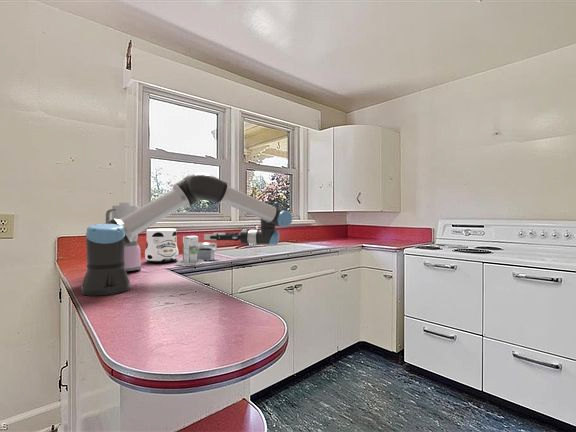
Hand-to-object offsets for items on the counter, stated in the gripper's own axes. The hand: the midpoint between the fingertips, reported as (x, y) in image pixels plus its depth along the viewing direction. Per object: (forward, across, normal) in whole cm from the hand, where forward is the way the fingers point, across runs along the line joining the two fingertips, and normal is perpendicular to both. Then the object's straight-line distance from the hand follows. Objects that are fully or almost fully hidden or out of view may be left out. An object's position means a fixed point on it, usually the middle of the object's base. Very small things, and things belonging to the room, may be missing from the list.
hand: (209, 235), depth 166 cm
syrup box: (+10, +1, -15) cm, 18 cm away
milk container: (+29, +7, -16) cm, 34 cm away
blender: (+32, -23, -16) cm, 43 cm away
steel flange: (+10, +1, -15) cm, 18 cm away
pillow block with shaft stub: (+7, +15, -15) cm, 22 cm away
